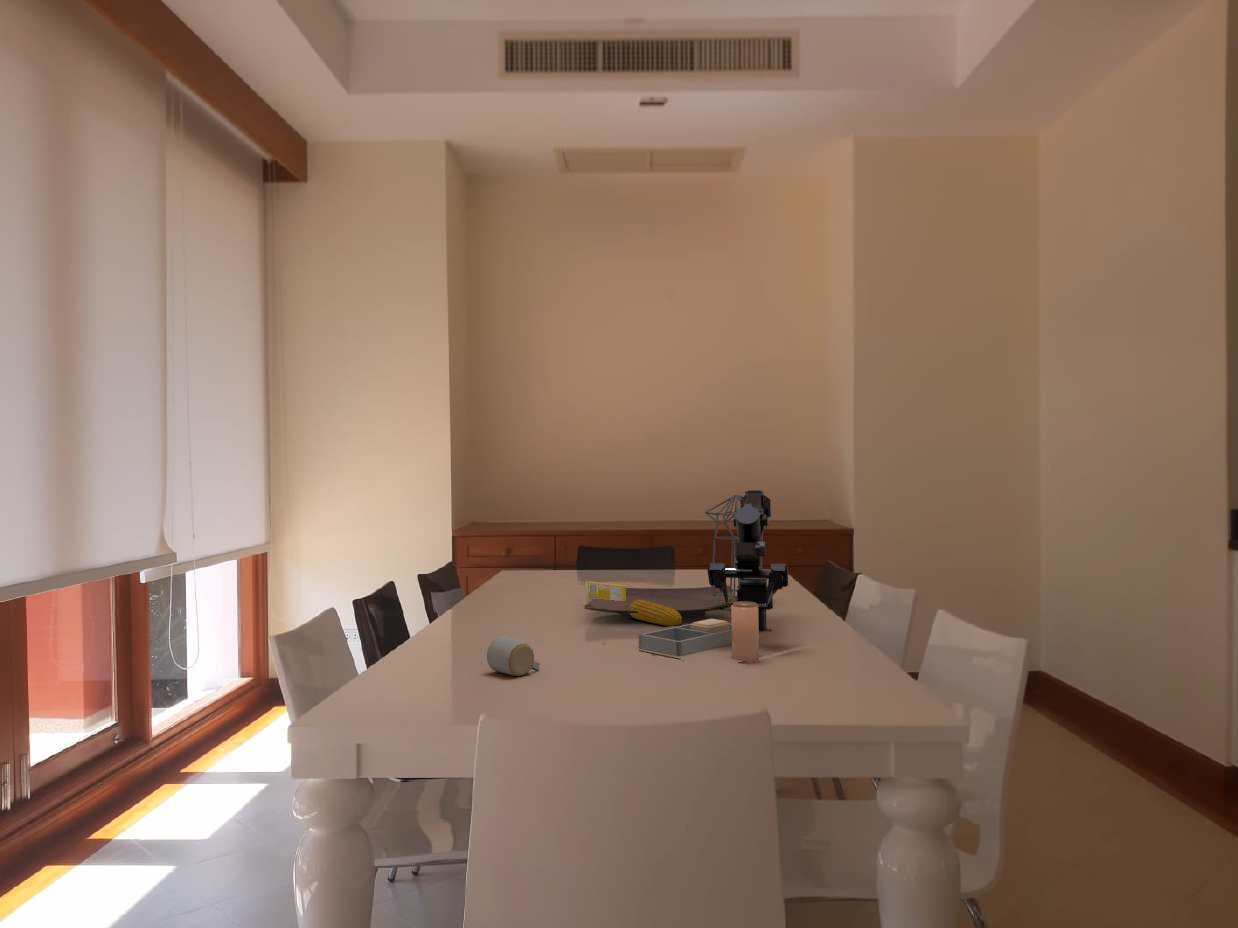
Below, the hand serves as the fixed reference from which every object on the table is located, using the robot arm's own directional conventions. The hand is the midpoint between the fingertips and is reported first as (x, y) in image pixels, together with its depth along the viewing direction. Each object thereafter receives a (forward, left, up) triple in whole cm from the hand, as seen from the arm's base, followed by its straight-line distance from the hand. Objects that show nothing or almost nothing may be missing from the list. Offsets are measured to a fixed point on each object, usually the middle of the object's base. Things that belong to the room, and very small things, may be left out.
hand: (746, 603), depth 199 cm
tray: (+1, -15, -12) cm, 19 cm away
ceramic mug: (+47, -26, -12) cm, 55 cm away
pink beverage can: (+4, +3, -12) cm, 13 cm away
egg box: (-5, -15, -11) cm, 19 cm away
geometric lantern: (-51, -43, -12) cm, 67 cm away
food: (-15, -44, -12) cm, 48 cm away
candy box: (-21, -71, -12) cm, 75 cm away
